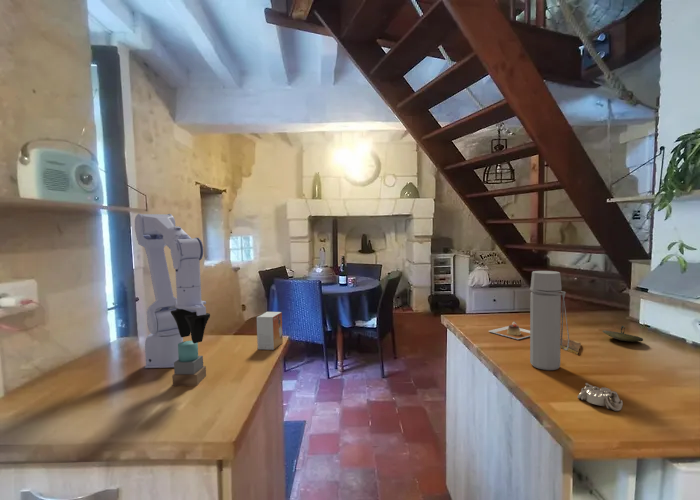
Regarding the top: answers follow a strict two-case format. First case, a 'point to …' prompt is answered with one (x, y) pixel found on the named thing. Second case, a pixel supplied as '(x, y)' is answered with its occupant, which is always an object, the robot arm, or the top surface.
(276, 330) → the small box
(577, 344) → the shard
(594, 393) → the ornament
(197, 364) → the top block
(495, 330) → the dessert
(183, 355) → the teal rounded piece
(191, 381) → the base block
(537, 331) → the water bottle
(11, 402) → the top surface
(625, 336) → the lid
